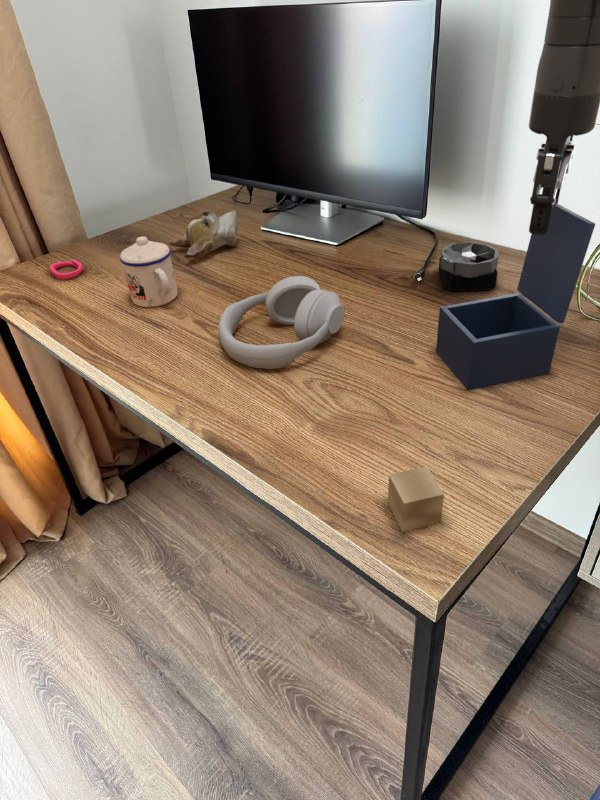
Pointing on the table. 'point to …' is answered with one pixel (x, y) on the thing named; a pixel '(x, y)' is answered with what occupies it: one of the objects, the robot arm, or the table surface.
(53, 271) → the fitness band
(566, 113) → the robot arm
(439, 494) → the block
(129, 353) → the table surface
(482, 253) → the cpu cooler
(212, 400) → the table surface
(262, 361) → the headphones
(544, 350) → the chest
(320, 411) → the table surface
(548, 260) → the lid
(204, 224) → the ceramic sculpture
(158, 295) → the teacup with lid
